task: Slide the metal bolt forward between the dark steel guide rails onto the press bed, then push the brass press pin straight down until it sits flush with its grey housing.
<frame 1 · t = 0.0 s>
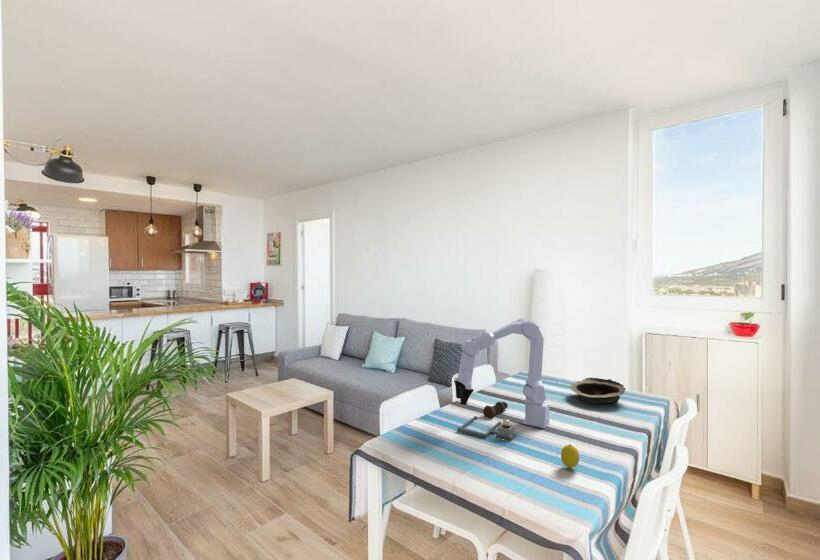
hand: (460, 401, 166), 11 cm above the table, tool pointing down, fingers open, 7 cm apart
bolt: (497, 414, 181), on the table
press pin: (506, 423, 156), point 5 cm above the table, slide at 0.0 cm
stone bowl: (596, 401, 197), on the table
press: (480, 427, 165), on the table
lemon: (569, 469, 132), on the table
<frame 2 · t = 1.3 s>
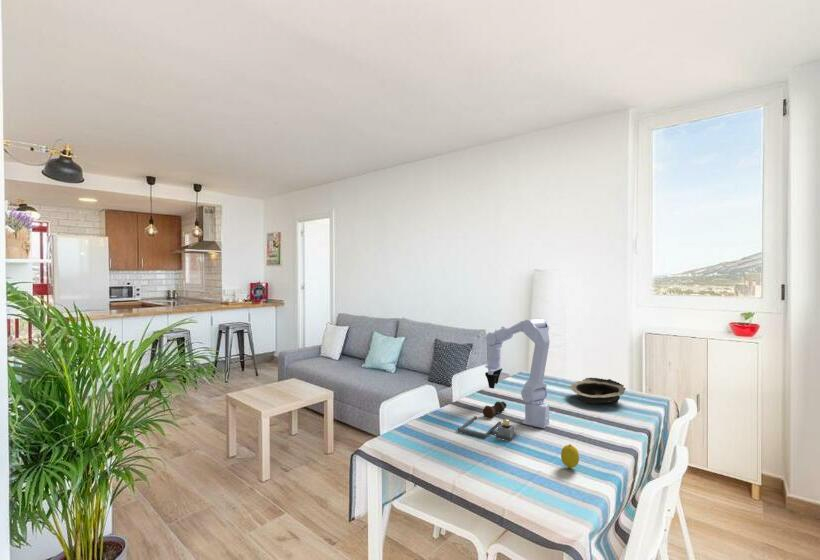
hand: (493, 385, 191), 10 cm above the table, tool pointing down, fingers open, 7 cm apart
nothing on the table moved.
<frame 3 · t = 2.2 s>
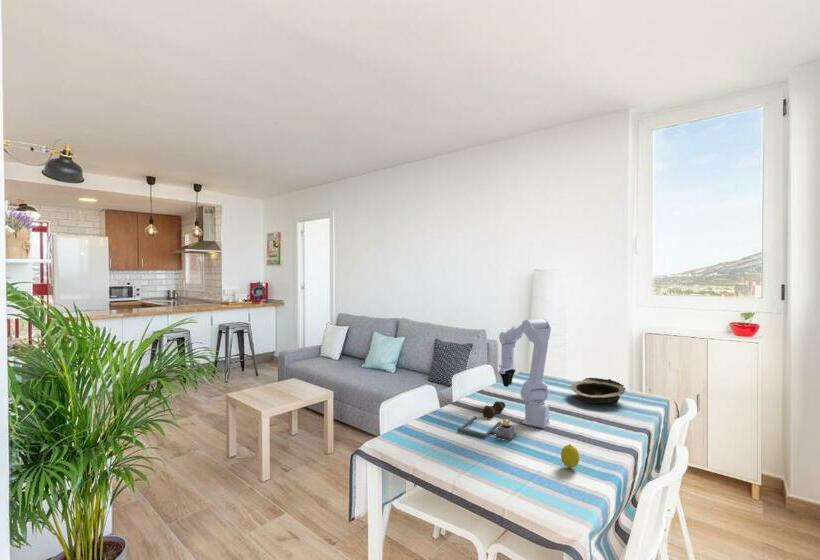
hand: (507, 385, 192), 9 cm above the table, tool pointing down, fingers open, 3 cm apart
nothing on the table moved.
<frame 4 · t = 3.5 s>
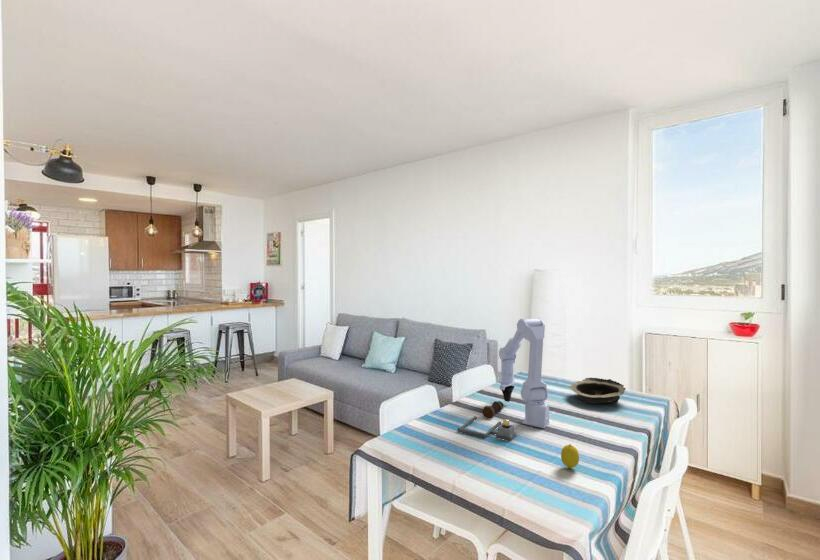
hand: (507, 401, 192), 2 cm above the table, tool pointing down, fingers closed
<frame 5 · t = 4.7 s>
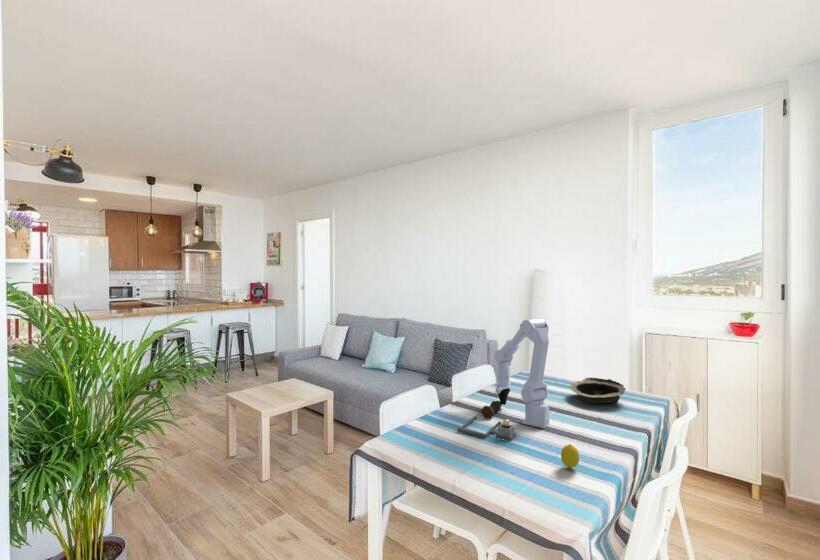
hand: (503, 404, 187), 2 cm above the table, tool pointing down, fingers closed
bolt: (493, 413, 181), on the table, touching gripper
everything else where it was.
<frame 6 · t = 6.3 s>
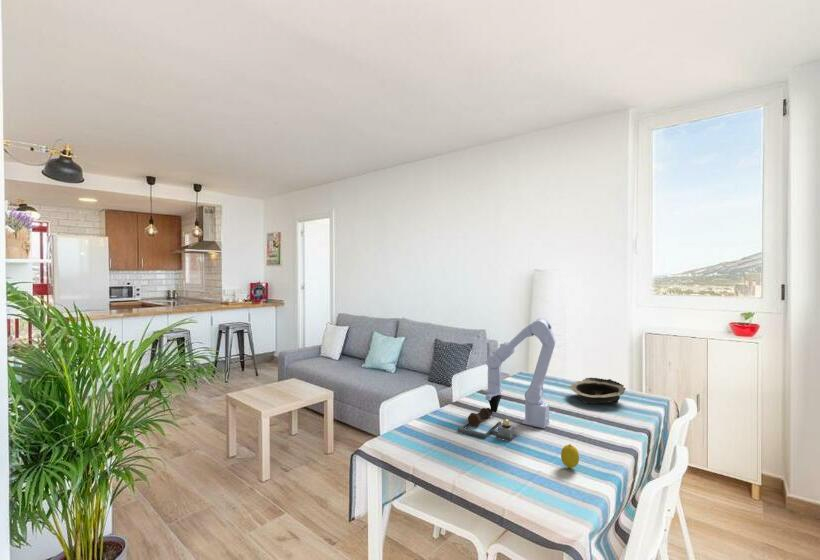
hand: (494, 411, 178), 2 cm above the table, tool pointing down, fingers closed
bolt: (481, 421, 172), on the table, touching gripper
everything else where it was.
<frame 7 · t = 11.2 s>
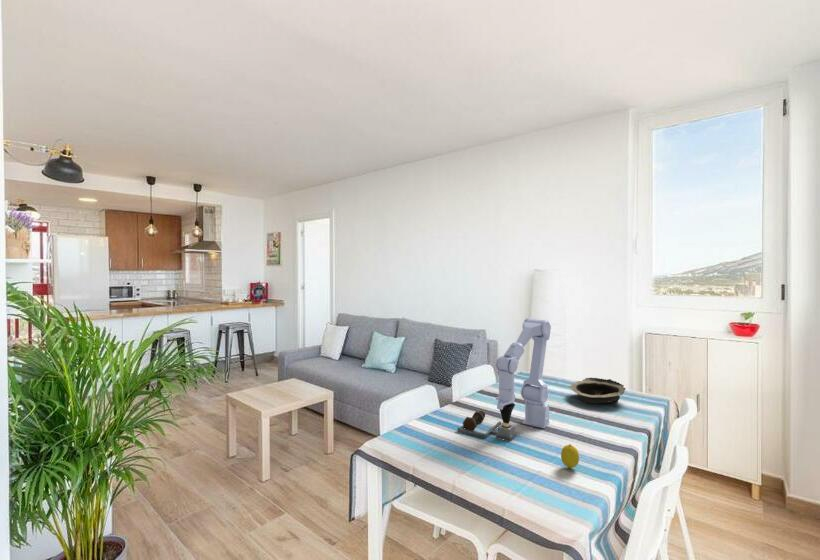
hand: (506, 422, 156), 6 cm above the table, tool pointing down, fingers closed, pressing on press pin
bolt: (476, 425, 169), on the table
press pin: (506, 425, 156), point 4 cm above the table, slide at 0.9 cm, touching gripper
everything else where it was.
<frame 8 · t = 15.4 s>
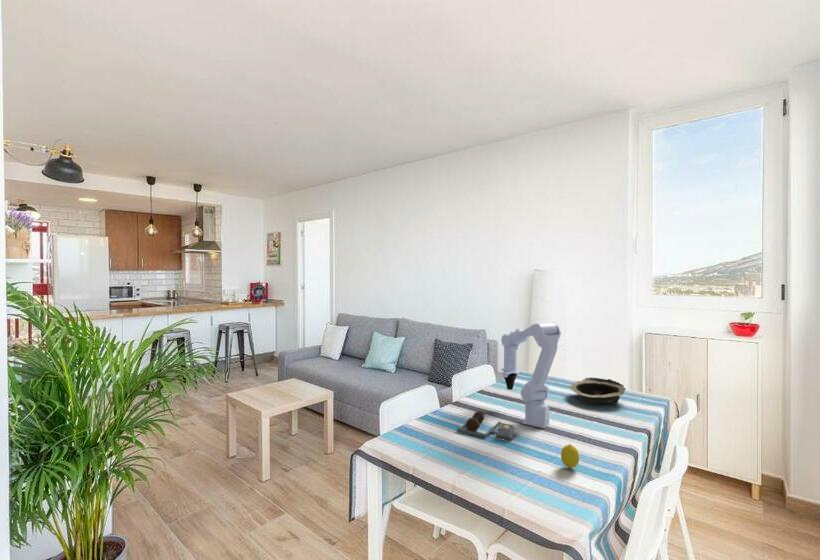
hand: (509, 389, 186), 9 cm above the table, tool pointing down, fingers closed
press pin: (506, 429, 156), point 3 cm above the table, slide at 2.4 cm
at the end: bolt inside the target area (2.6 cm from its centre), on the table; press pin slide at 2.4 cm; bolt moved 17.2 cm from its start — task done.
